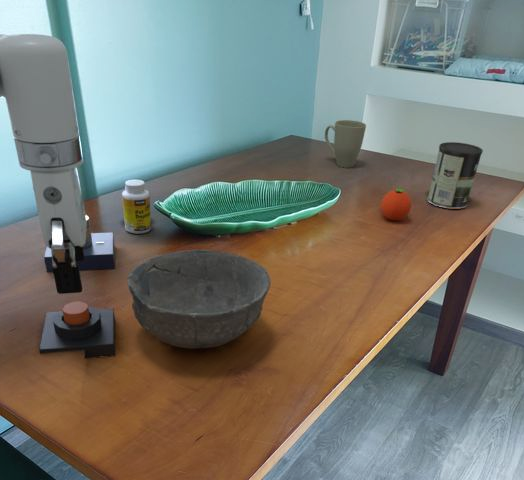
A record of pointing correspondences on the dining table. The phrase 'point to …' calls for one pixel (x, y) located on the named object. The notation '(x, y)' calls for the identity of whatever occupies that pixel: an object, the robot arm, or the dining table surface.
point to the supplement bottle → (136, 207)
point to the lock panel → (92, 254)
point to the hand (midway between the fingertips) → (71, 275)
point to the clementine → (396, 204)
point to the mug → (346, 141)
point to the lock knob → (88, 234)
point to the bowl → (198, 296)
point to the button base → (80, 334)
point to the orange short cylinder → (76, 313)
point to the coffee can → (454, 174)
